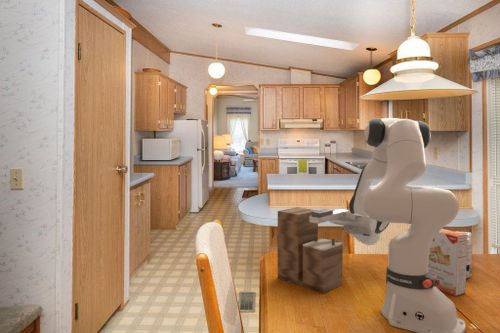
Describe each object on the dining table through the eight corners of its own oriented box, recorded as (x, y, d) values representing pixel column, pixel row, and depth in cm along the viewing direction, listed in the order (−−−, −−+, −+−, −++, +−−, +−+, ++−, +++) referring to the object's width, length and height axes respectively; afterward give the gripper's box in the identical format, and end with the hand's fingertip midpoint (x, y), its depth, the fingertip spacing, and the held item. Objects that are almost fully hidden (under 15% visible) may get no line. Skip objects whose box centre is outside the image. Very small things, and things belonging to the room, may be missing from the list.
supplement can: (449, 278, 143) (450, 239, 142) (444, 271, 151) (445, 234, 150) (473, 280, 141) (474, 241, 140) (467, 273, 149) (468, 235, 148)
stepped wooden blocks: (342, 284, 137) (343, 214, 136) (323, 293, 129) (324, 219, 127) (297, 270, 152) (297, 207, 150) (277, 278, 144) (277, 211, 142)
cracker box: (419, 283, 138) (420, 227, 137) (430, 280, 141) (431, 225, 140) (455, 297, 126) (457, 235, 124) (466, 293, 128) (468, 233, 127)
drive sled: (349, 215, 143) (349, 206, 143) (318, 223, 130) (318, 213, 129) (340, 213, 146) (340, 205, 146) (309, 221, 132) (309, 212, 132)
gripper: (335, 214, 159) (319, 201, 150) (381, 221, 145) (366, 208, 136) (331, 228, 158) (314, 216, 149) (376, 237, 143) (361, 224, 134)
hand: (339, 212), depth 142 cm, fingers closed on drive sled, 4 cm apart
